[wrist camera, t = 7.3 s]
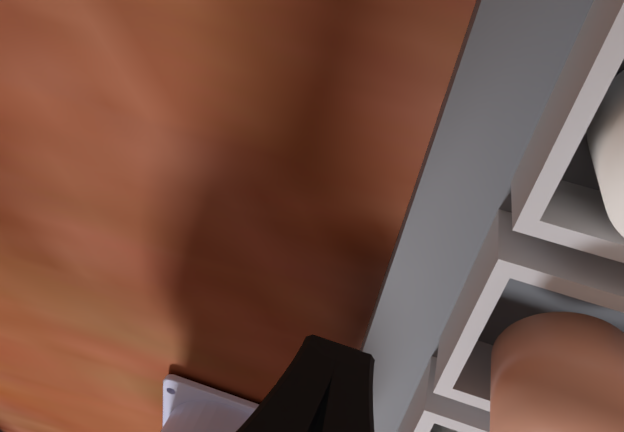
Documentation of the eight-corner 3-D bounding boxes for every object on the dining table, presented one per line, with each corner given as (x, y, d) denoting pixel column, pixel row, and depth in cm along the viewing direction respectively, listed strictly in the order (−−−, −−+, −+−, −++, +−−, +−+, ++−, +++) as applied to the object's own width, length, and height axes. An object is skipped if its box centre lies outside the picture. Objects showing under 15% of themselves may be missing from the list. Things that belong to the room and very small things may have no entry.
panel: (579, 457, 26) (593, 572, 22) (349, 380, 27) (323, 474, 23) (942, 28, 14) (1120, 108, 10) (501, -73, 15) (501, -39, 11)
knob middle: (598, 423, 18) (614, 516, 15) (472, 381, 18) (468, 465, 16) (668, 339, 15) (699, 434, 13) (520, 294, 16) (524, 377, 13)
